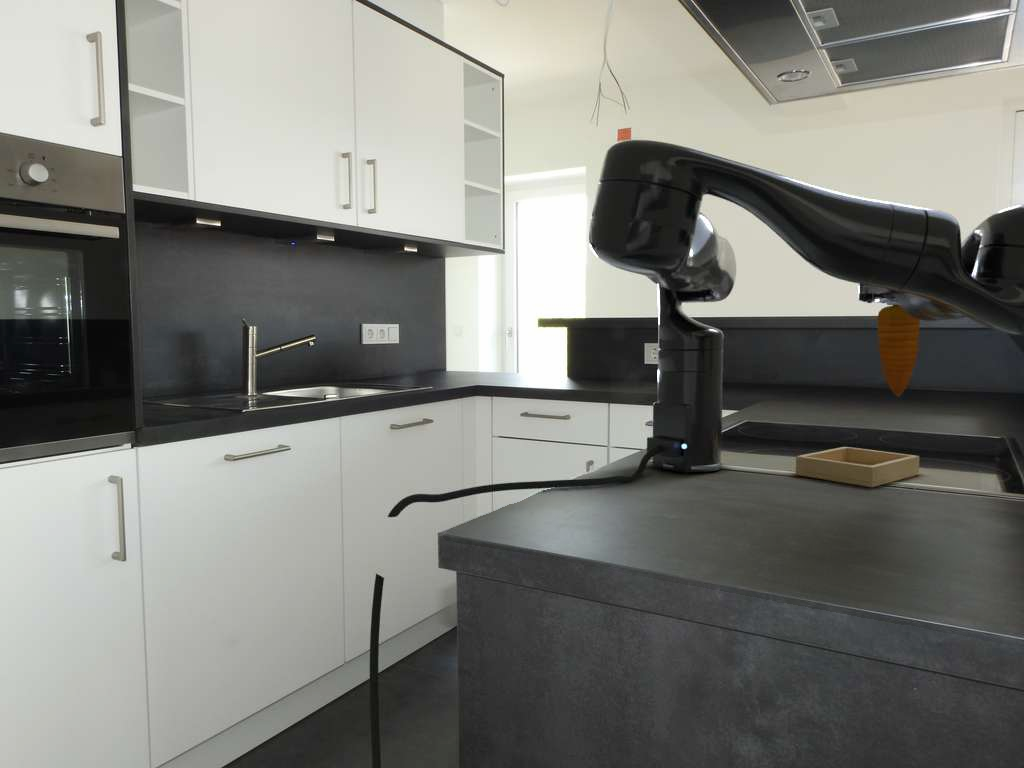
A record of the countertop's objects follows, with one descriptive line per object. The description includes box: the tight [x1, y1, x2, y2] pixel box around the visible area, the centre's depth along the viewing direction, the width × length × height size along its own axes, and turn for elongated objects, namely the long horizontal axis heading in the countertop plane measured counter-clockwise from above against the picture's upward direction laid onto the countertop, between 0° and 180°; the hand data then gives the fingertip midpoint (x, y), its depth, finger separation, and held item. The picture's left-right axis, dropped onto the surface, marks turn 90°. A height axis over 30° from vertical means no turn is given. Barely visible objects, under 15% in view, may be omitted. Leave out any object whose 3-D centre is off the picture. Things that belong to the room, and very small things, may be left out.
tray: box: [795, 446, 920, 488], centre depth 100 cm, size 14×11×3 cm
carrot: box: [877, 305, 921, 397], centre depth 90 cm, size 5×5×15 cm
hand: (894, 293), depth 92 cm, fingers closed on carrot, 3 cm apart
